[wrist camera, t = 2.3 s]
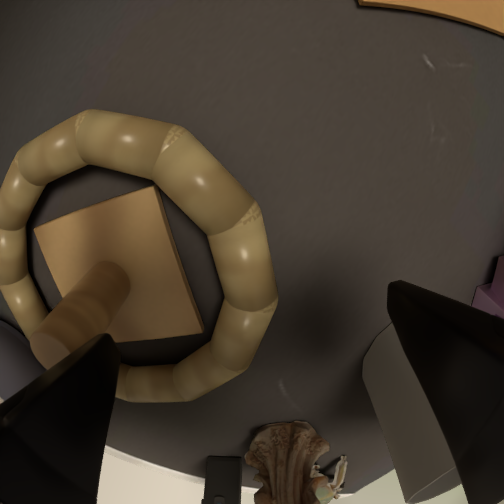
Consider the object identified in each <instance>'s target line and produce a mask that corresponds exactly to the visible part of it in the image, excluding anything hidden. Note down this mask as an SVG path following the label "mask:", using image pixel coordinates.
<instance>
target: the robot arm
mask: <svg viewBox="0 0 504 504" xmlns="http://www.w3.org/2000/svg"><path fill="white" fill-rule="evenodd" d="M387 310H388V314H389V316H390V318H391V321H392V323H393V326H394V328H395V331H396V333H397V336H398V338H399V341H400V344H401V346H402V348H403V351H404V353H405V355H406V357H407V359H408V361H409V363H410V365H411V367H412V369H413V371H414V373H415V375H416V377H417V379H418V381H419V383H420V385H421V387H422V389H423V391H424V393H425V395H426V397H427V399H428V402H429V404H430V406H431V408H432V410H433V412H434V415H435V417H436V419H437V421H438V424H439V426H440V428H441V431H442V433H443V435H444V438H445V440H446V443H447V445H448V448H449V450H450V453H451V455H452V458H453V460H454V462H455V466H456V469H457V471H458V474H459V477H460V480H461V483H462V485H463V488H464V491H465V494H466V497H467V501H468V504H497V503H499V502H501V501H502V500H503V499H504V319H502V318H500V317H497V316H495V315H490V313H487V312H484V311H482V310H479V309H477V308H474V307H472V306H469V305H466V304H464V303H461V302H459V301H456V300H453V299H451V298H448V297H445V296H443V295H440V294H437V293H435V292H432V291H429V290H427V289H424V288H421V287H419V286H416V285H413V284H410V283H408V282H405V281H402V280H398V281H394V282H391V283H389V285H388V292H387ZM120 362H121V352H120V350H119V348H118V347H117V345H116V343H115V341H114V340H113V338H112V336H111V335H110V334H109V333H101V334H97V335H96V336H95V337H93V338H92V339H90V340H89V341H87V342H86V343H85V344H83V345H82V346H80V347H79V348H78V349H76V350H75V351H73V352H72V353H71V354H69V355H68V356H66V357H65V358H64V359H62V360H61V361H59V362H58V363H57V364H55V365H54V366H52V367H51V368H50V369H48V370H47V371H46V372H44V373H43V374H41V375H40V376H39V377H37V378H36V379H35V380H33V381H32V382H30V383H29V384H28V386H27V385H26V386H25V387H24V388H22V389H21V390H19V391H18V392H17V393H15V394H14V395H12V396H11V397H10V398H8V399H7V400H5V401H4V402H2V403H1V404H0V504H97V499H96V498H97V494H98V486H99V479H100V472H101V466H102V459H103V454H104V448H105V443H106V438H107V433H108V428H109V423H110V418H111V413H112V409H113V405H114V400H115V395H116V389H117V382H118V375H119V369H120Z"/></svg>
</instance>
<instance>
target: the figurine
mask: <svg viewBox="0 0 504 504" xmlns="http://www.w3.org/2000/svg"><path fill="white" fill-rule="evenodd" d="M254 436H255V437H254V438H253V439H252V443H251V445H250V449H249V451H248V452H247V453H246V454H245V457H244V458H245V461H246V464H248V465H250V466H251V467H255V468H256V469H257V470H259V473H258V474H256V475H255V477H254V479H253V480H255V481H257V482H262V483H263V487H262V488H260V489H259V490H258V491H257V492H256V493H255V494H254V502H255V504H321V503H320V501H319V500H318V498H317V496H316V491H317V489H318V488H320V487H325V486H327V484H328V477H327V476H318V477H315V478H312V477H310V474H311V471H312V468H313V465H314V463H315V461H316V460H317V459H318V458H319V456H321V455H323V454H324V453H325V452H328V451H329V450H330V445H329V443H328V442H327V441H326V440H324V439H323V438H322V437H321V436H320V435H318V434H317V433H316V431H315V430H314V429H313V427H312V426H311V425H310V424H309V423H307V422H301V421H294V422H292V423H282V422H281V423H277V424H268V425H266V426H263V427H261V428H258V429H257V431H255V433H254Z"/></svg>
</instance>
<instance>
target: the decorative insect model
mask: <svg viewBox="0 0 504 504" xmlns="http://www.w3.org/2000/svg"><path fill="white" fill-rule="evenodd" d="M345 460H346V456H341V460H340V461H339V462H338V464H337V466H336V473H335V477H334V481H333V483H328V484H327V486H325V487H320V488H318V489H317V491H316V496H317V498H318V500H319V501H320V503H321V504H327V503H329V502H330V501H331V499H333V498H335V499H338V497H340V495H338V494H337V493H336V492H338V491H340V490H342V489H343V488H344V487H345V486H344V483H345V482H343V481H344V477H345V472H346V465H347V461H345ZM319 468H320V466H319V465H314V466H313V468H312V471H311V474H310V477H312V478H315V477H318V476H324V475H323V474H320V473H318V472H319V471H316V470H315V469H319ZM342 482H343V483H342Z"/></svg>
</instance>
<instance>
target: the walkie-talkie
mask: <svg viewBox="0 0 504 504" xmlns="http://www.w3.org/2000/svg"><path fill="white" fill-rule="evenodd" d="M241 484H242V465H241V457H216V456H209V457H208V462H207V469H206V478H205V488H204V499H202V502H201V504H241Z"/></svg>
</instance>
